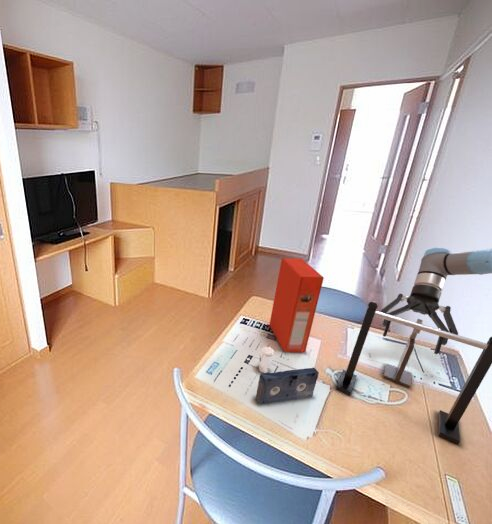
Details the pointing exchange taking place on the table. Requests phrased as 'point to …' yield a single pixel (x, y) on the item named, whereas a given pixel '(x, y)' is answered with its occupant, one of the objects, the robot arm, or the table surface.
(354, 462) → the table surface
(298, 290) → the file binder
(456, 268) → the robot arm
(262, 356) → the milkshake
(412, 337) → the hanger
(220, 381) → the table surface
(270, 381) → the vhs cassette tape
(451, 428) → the coat rack
